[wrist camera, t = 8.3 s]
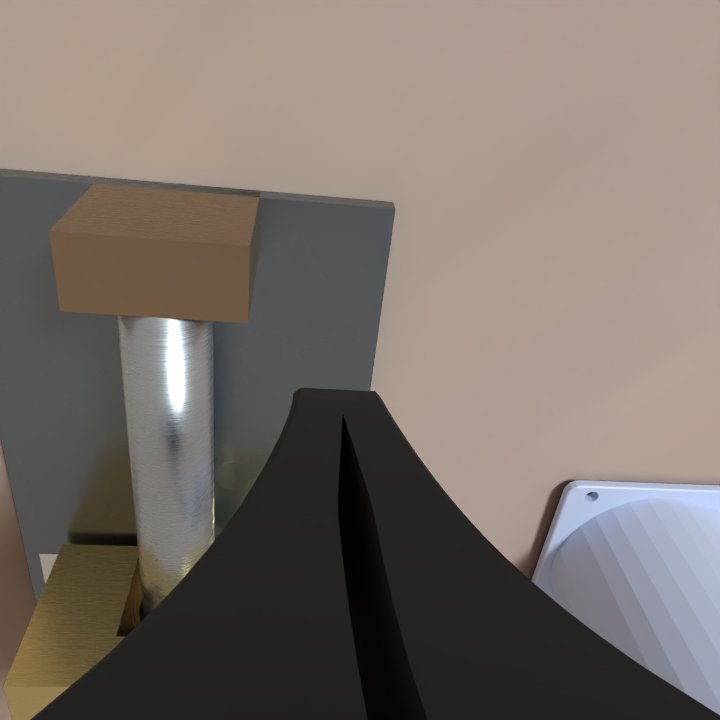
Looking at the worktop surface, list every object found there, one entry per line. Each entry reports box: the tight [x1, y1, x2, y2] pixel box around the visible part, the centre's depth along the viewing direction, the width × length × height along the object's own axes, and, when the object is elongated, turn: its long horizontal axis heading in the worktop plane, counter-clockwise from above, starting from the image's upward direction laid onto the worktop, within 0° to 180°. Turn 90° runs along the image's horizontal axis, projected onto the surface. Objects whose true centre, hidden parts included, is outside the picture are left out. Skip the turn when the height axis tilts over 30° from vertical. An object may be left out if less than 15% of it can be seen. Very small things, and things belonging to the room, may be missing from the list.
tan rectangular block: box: [3, 544, 142, 720], centre depth 23 cm, size 9×4×6 cm, turn 84°
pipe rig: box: [0, 169, 395, 622], centre depth 22 cm, size 12×22×4 cm, turn 174°
